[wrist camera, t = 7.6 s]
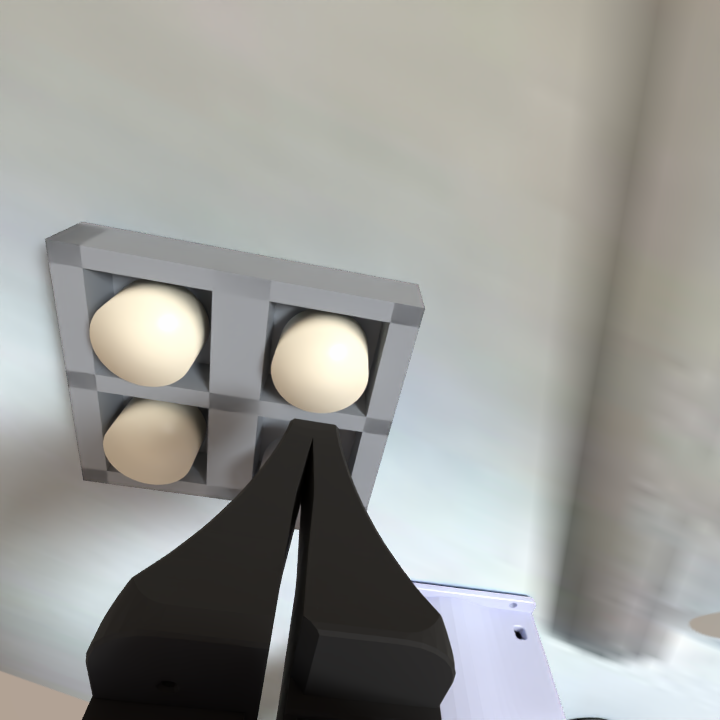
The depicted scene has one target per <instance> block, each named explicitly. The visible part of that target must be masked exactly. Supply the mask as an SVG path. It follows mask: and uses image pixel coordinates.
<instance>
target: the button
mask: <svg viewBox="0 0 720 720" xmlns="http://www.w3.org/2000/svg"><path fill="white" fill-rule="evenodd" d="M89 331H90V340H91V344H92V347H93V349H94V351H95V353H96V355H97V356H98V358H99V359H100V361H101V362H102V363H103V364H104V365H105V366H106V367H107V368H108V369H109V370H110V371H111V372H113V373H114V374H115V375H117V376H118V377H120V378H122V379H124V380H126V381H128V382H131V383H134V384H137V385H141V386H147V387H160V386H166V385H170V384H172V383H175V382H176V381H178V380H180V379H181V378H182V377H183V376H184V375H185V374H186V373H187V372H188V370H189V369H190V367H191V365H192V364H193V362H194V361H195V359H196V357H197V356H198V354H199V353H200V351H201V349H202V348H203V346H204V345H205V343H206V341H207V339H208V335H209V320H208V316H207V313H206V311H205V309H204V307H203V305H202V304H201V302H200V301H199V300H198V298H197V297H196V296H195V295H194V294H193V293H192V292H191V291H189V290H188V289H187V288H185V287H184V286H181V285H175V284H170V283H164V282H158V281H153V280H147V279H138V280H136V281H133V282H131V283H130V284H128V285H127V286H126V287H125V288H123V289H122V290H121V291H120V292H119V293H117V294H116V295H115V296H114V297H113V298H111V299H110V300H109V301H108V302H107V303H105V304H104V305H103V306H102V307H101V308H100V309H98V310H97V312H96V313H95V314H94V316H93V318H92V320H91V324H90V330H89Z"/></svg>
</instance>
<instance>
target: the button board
mask: <svg viewBox="0 0 720 720" xmlns="http://www.w3.org/2000/svg"><path fill="white" fill-rule="evenodd" d="M45 242H46V248H47V254H48V260H49V267H50V273H51V279H52V286H53V292H54V298H55V305H56V311H57V317H58V323H59V330H60V336H61V342H62V349H63V355H64V361H65V368H66V374H67V380H68V386H69V393H70V399H71V405H72V412H73V418H74V424H75V431H76V437H77V443H78V449H79V456H80V462H81V468H82V475H83V480H85V481H93V482H100V483H108V484H115V485H122V486H130V487H137V488H144V489H152V490H159V491H166V492H174V493H181V494H188V495H196V496H203V497H210V498H218V499H225V500H233V499H234V498H235V497H236V496H237V495H238V494H239V493H240V492H241V491H242V490H243V489H244V488H245V487H246V485H247V484H248V483H249V482H250V481H251V480H252V478H253V477H254V476H255V475H256V473H257V472H258V471H259V469H260V466H261V462H262V458H263V455H264V452H265V450H266V448H267V447H268V446H269V444H270V443H271V442H273V441H274V440H275V439H277V438H279V437H281V436H283V435H284V433H285V432H286V430H287V428H288V425H289V423H290V421H291V420H292V419H294V418H296V419H302V420H309V421H315V422H321V423H328V424H334V425H336V426H337V427H338V428H339V436H340V441H341V446H342V449H343V453H344V457H345V460H346V463H347V466H348V469H349V471H350V474H351V477H352V480H353V482H354V485H355V487H356V490H357V492H358V494H359V497H360V499H361V501H362V503H363V505H364V507H365V509H366V511H367V507H368V504H369V500H370V497H371V493H372V490H373V486H374V483H375V480H376V476H377V473H378V469H379V466H380V462H381V459H382V455H383V452H384V448H385V445H386V442H387V438H388V435H389V431H390V428H391V424H392V421H393V417H394V414H395V410H396V407H397V404H398V400H399V397H400V393H401V390H402V386H403V383H404V379H405V376H406V373H407V369H408V366H409V362H410V359H411V355H412V352H413V348H414V345H415V341H416V338H417V335H418V331H419V328H420V324H421V321H422V317H423V314H424V310H425V306H424V303H423V299H422V296H421V292H420V289H419V285H417V284H412V283H407V282H401V281H396V280H391V279H385V278H380V277H375V276H369V275H364V274H358V273H353V272H348V271H342V270H337V269H332V268H326V267H321V266H316V265H310V264H305V263H300V262H294V261H289V260H283V259H278V258H273V257H267V256H262V255H257V254H251V253H246V252H241V251H235V250H230V249H225V248H219V247H214V246H208V245H203V244H198V243H192V242H187V241H182V240H176V239H171V238H166V237H160V236H155V235H150V234H144V233H139V232H133V231H128V230H123V229H117V228H112V227H107V226H101V225H96V224H91V223H85V222H81V223H78V224H76V225H74V226H72V227H70V228H68V229H66V230H63V231H61V232H59V233H57V234H55V235H53V236H51V237H48V238H46V239H45ZM138 279H147V280H153V281H158V282H164V283H170V284H175V285H181V286H184V287H185V288H187V289H188V290H189V291H191V292H192V293H193V294H194V295H195V296H196V297H197V298H198V300H199V301H200V302H201V304H202V305H203V307H204V309H205V311H206V313H207V316H208V320H209V335H208V339H207V341H206V343H205V345H204V346H203V348H202V349H201V351H200V353H199V354H198V356H197V357H196V359H195V361H194V362H193V364H192V365H191V367H190V369H189V370H188V372H187V373H186V374H185V375H184V376H183V377H182V378H181V379H180V380H178V381H176V382H175V383H172V384H170V385H166V386H160V387H147V386H141V385H137V384H134V383H131V382H128V381H126V380H124V379H122V378H120V377H118V376H117V375H115V374H114V373H113V372H111V371H110V370H109V369H108V368H107V367H106V366H105V365H104V364H103V363H102V362H101V361H100V359H99V358H98V356H97V355H96V353H95V351H94V349H93V347H92V344H91V340H90V331H89V330H90V324H91V320H92V318H93V316H94V314H95V313H96V312H97V310H98V309H100V308H101V307H102V306H103V305H104V304H105V303H107V302H108V301H109V300H110V299H111V298H113V297H114V296H115V295H116V294H117V293H119V292H120V291H121V290H122V289H123V288H125V287H126V286H127V285H128V284H130V283H131V282H133V281H136V280H138ZM307 309H316V310H322V311H327V312H333V313H338V314H344V315H349V316H351V317H352V318H353V319H355V320H356V321H357V322H358V324H359V325H360V326H361V327H362V329H363V331H364V333H365V335H366V338H367V342H368V382H367V386H366V388H365V390H364V392H363V393H362V395H361V396H360V397H359V399H358V400H357V401H355V402H354V403H353V404H352V405H350V406H348V407H347V408H344V409H342V410H339V411H336V412H331V413H313V412H308V411H305V410H301V409H299V408H297V407H295V406H293V405H292V404H290V403H289V402H287V401H286V400H285V399H284V398H283V397H282V396H281V395H280V394H279V392H278V391H277V389H276V388H275V385H274V383H273V380H272V376H271V364H272V360H273V357H274V354H275V351H276V348H277V345H278V342H279V339H280V336H281V333H282V330H283V329H284V327H285V325H286V324H287V322H288V321H289V320H290V319H291V318H292V317H294V316H295V315H296V314H298V313H300V312H302V311H305V310H307ZM133 397H138V398H145V399H151V400H158V401H164V402H171V403H177V404H184V405H190V406H196V407H197V408H198V409H199V410H200V411H201V413H202V414H203V416H204V419H205V421H206V428H207V430H206V435H205V438H204V440H203V442H202V444H201V447H200V449H199V451H198V453H197V455H196V458H195V460H194V462H193V464H192V466H191V468H190V470H189V472H188V473H187V474H186V475H185V476H184V477H183V478H182V479H180V480H178V481H176V482H173V483H170V484H164V485H153V484H146V483H142V482H138V481H136V480H133V479H131V478H129V477H127V476H125V475H123V474H122V473H121V472H119V471H118V470H117V469H116V468H115V467H114V466H113V465H112V464H111V463H110V462H109V460H108V459H107V457H106V455H105V452H104V448H103V440H104V436H105V434H106V432H107V431H108V429H109V428H110V427H111V425H112V424H113V423H114V421H115V420H116V419H117V417H118V416H119V415H120V413H121V412H122V411H123V409H124V408H125V407H126V405H127V404H128V403H129V401H130V400H131V399H132V398H133Z"/></svg>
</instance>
